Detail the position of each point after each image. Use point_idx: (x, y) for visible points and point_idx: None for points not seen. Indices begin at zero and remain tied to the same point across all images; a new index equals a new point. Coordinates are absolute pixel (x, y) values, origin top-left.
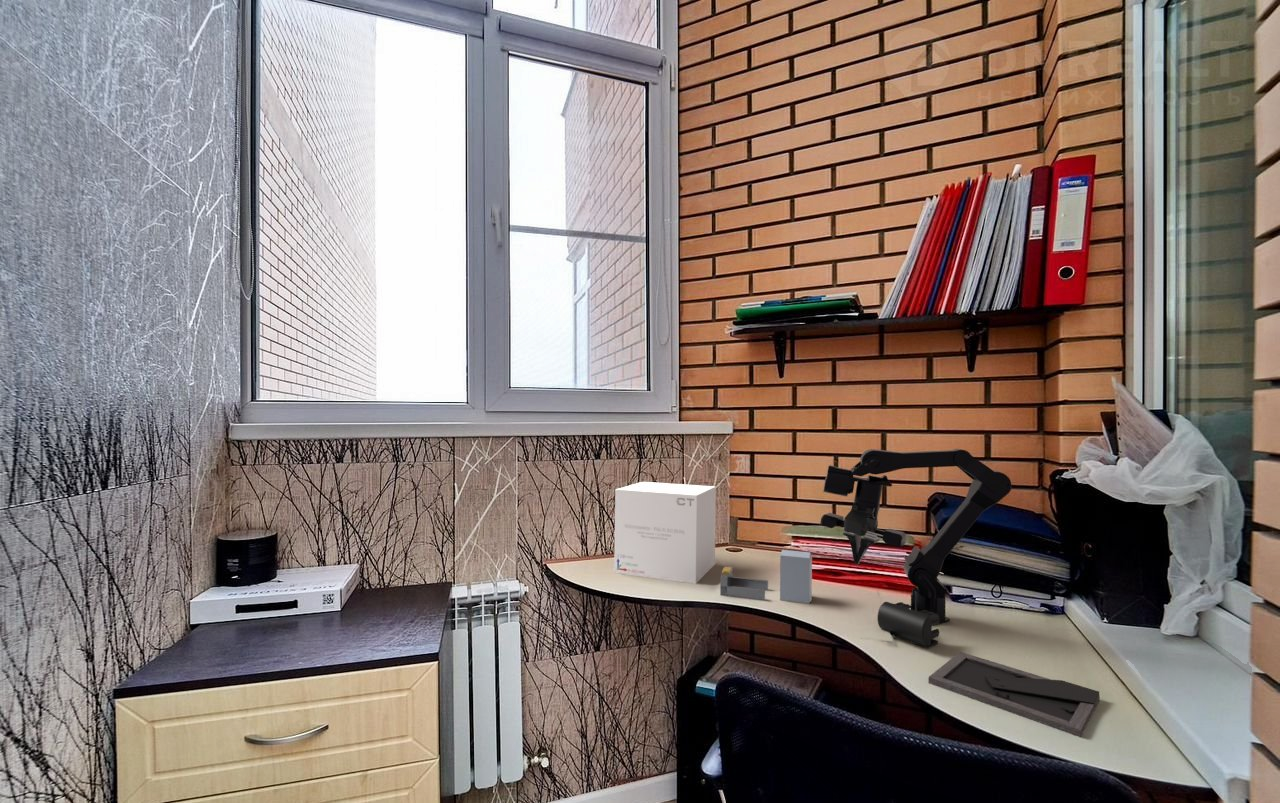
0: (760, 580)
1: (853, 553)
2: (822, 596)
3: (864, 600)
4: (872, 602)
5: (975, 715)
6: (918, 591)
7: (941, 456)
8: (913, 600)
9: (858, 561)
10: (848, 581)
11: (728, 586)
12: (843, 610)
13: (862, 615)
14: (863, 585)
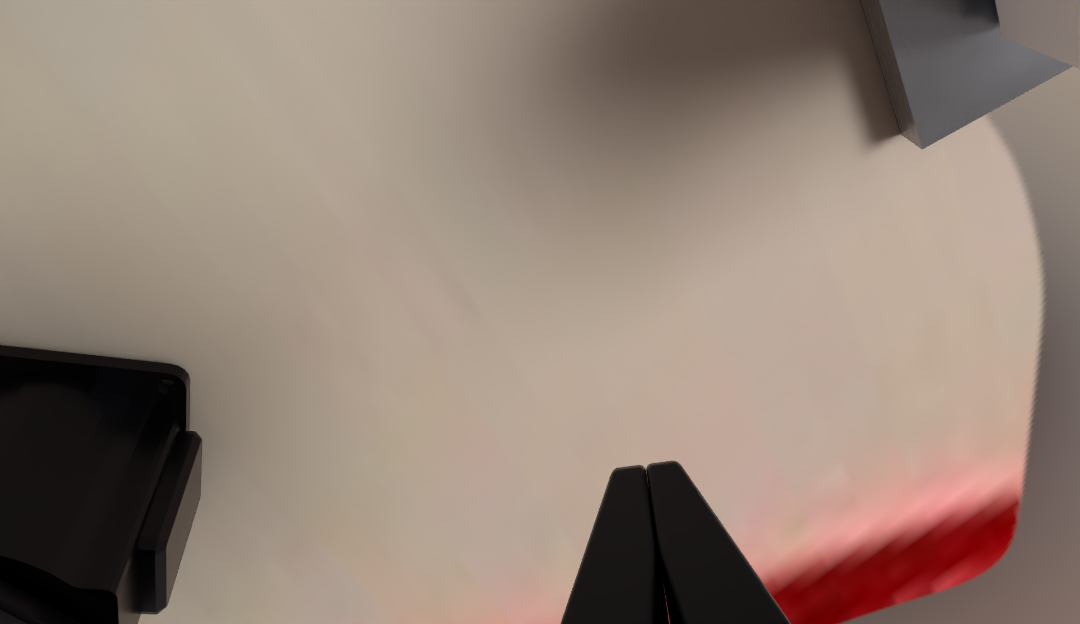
0: None
1: (754, 615)
2: (903, 221)
3: (602, 400)
4: (539, 409)
5: None
6: (15, 577)
7: None
8: (131, 498)
9: (603, 510)
10: (837, 595)
11: None
12: (615, 40)
13: (421, 66)
14: None
